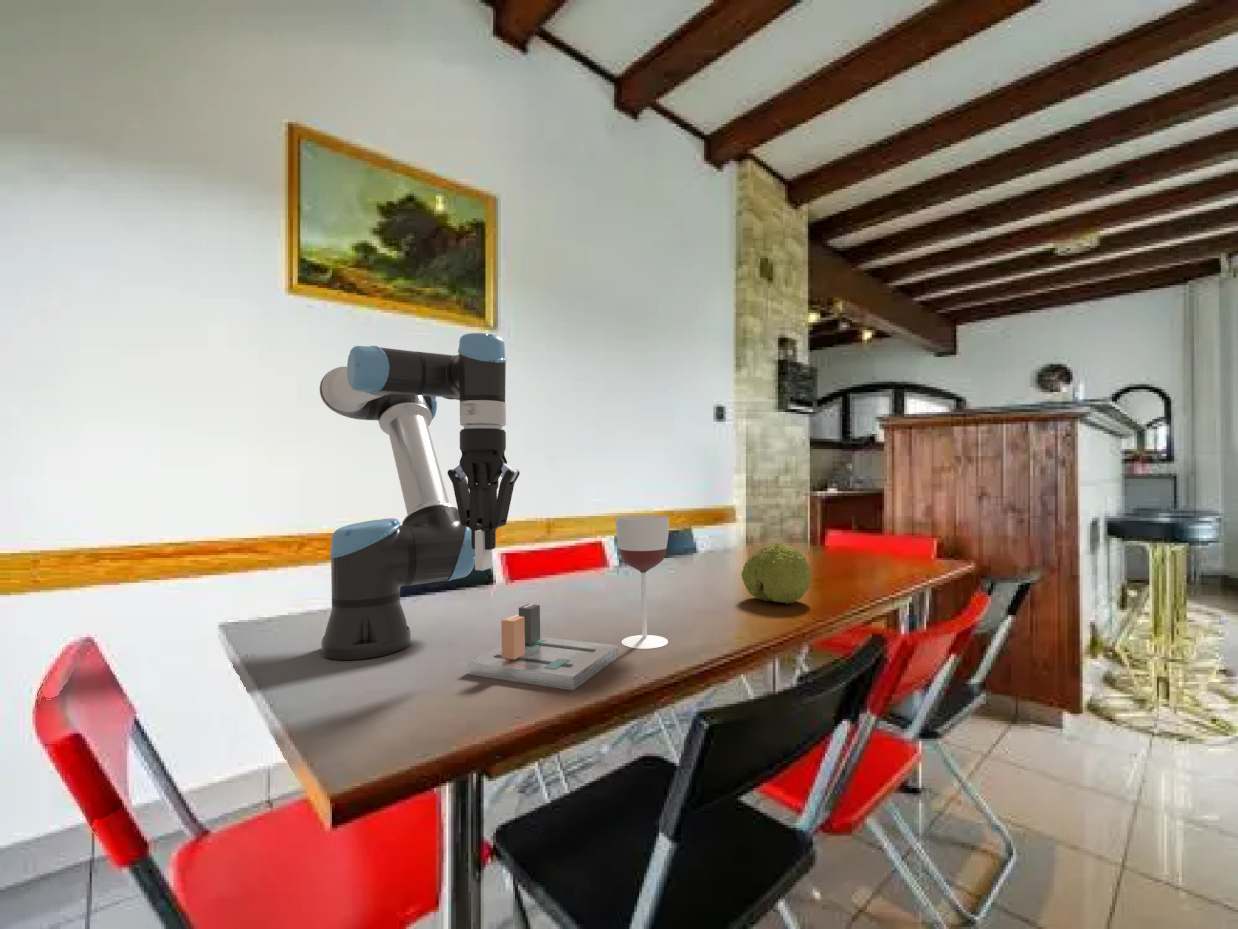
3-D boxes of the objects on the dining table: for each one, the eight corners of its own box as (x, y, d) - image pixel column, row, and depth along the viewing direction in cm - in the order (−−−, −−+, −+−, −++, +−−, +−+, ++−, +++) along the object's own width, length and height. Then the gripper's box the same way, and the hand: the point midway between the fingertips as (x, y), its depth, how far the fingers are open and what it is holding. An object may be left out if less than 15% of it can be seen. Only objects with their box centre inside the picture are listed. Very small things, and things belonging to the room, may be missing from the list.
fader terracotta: (501, 657, 91) (501, 618, 92) (512, 652, 94) (512, 614, 94) (514, 659, 91) (513, 620, 91) (525, 653, 93) (524, 615, 93)
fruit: (733, 605, 134) (727, 544, 141) (765, 617, 143) (758, 559, 150) (796, 591, 124) (786, 526, 131) (827, 604, 133) (816, 543, 140)
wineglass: (668, 650, 101) (665, 519, 102) (613, 647, 103) (610, 519, 104) (674, 635, 110) (671, 515, 111) (623, 633, 112) (620, 515, 113)
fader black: (519, 642, 100) (518, 606, 100) (528, 637, 102) (528, 603, 102) (531, 644, 99) (530, 607, 99) (540, 639, 101) (539, 603, 101)
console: (467, 674, 91) (467, 661, 91) (523, 645, 106) (523, 634, 106) (573, 690, 83) (573, 676, 83) (618, 657, 98) (617, 644, 98)
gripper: (436, 427, 95) (437, 570, 95) (504, 425, 90) (504, 575, 91) (464, 429, 102) (464, 562, 102) (528, 428, 97) (529, 567, 98)
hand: (483, 568), depth 96 cm, fingers closed
